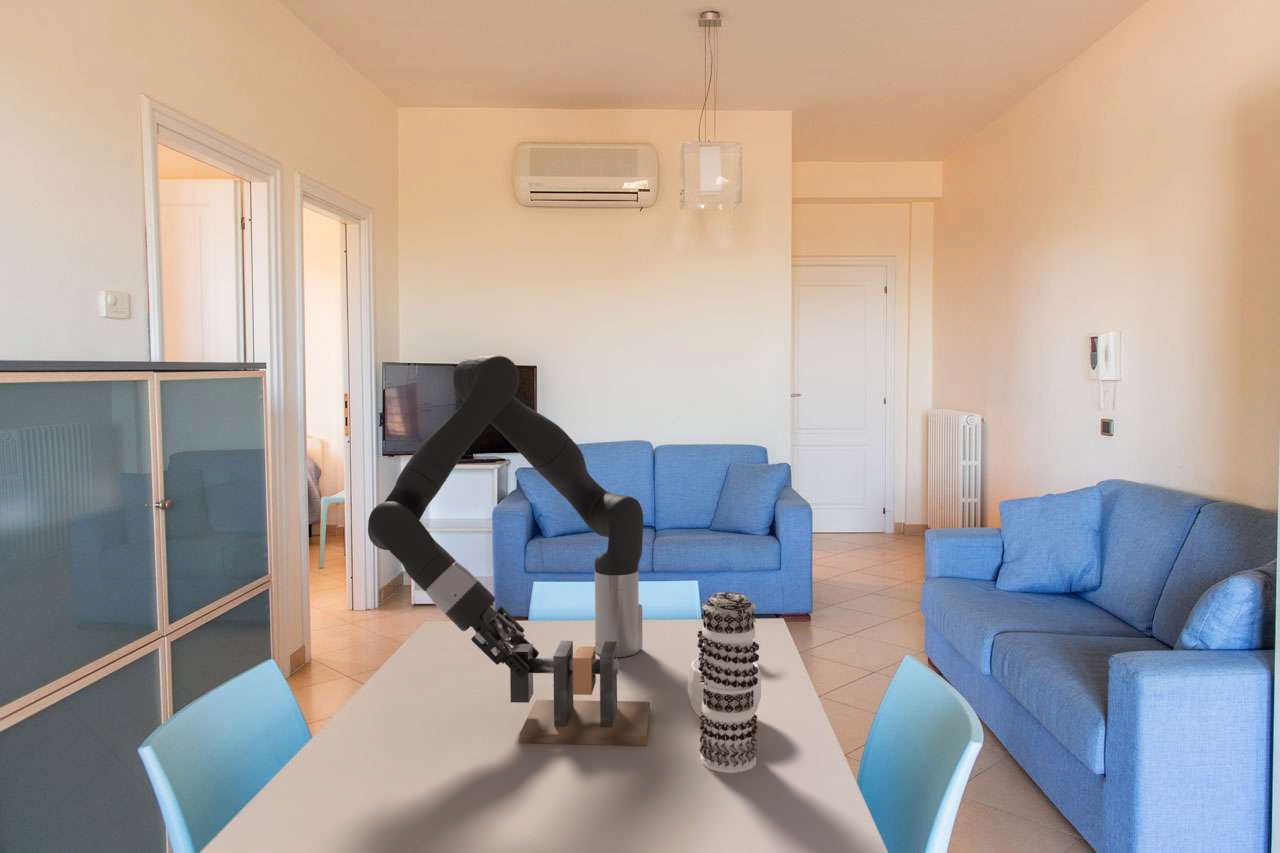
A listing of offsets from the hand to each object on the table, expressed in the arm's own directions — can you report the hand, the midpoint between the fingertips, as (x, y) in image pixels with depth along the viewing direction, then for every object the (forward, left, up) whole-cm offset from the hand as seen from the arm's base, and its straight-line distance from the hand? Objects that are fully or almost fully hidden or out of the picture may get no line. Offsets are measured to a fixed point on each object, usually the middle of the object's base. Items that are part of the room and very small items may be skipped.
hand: (530, 665), depth 138 cm
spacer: (-6, +6, -4) cm, 10 cm away
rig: (-7, +7, -10) cm, 14 cm away
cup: (-25, +21, -10) cm, 34 cm away
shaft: (-4, +4, -5) cm, 8 cm away
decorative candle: (-15, +31, -10) cm, 36 cm away
